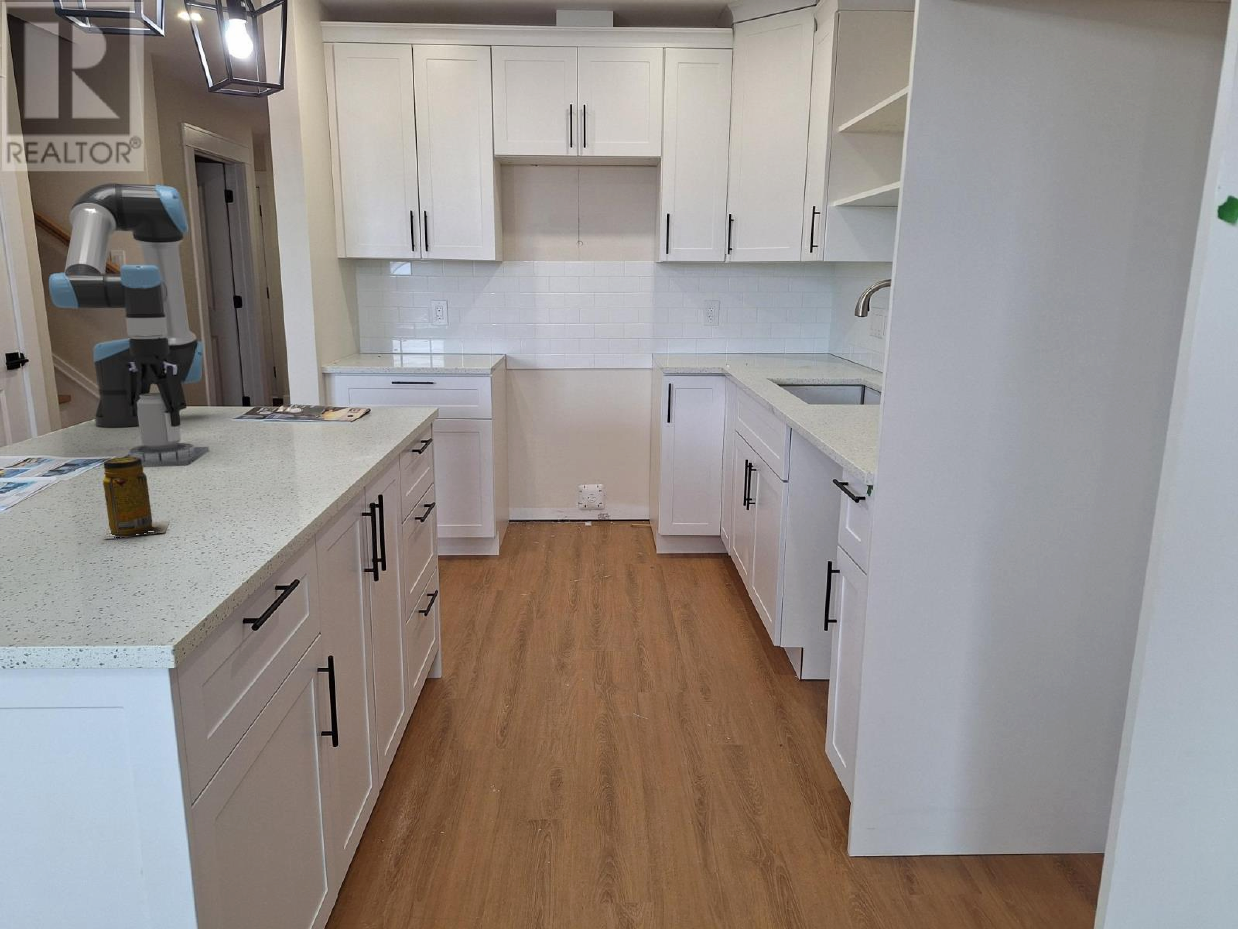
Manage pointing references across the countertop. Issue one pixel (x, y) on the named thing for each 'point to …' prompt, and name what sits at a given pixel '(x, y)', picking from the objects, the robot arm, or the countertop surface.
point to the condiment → (128, 499)
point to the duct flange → (168, 455)
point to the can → (153, 421)
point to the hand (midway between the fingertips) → (160, 439)
